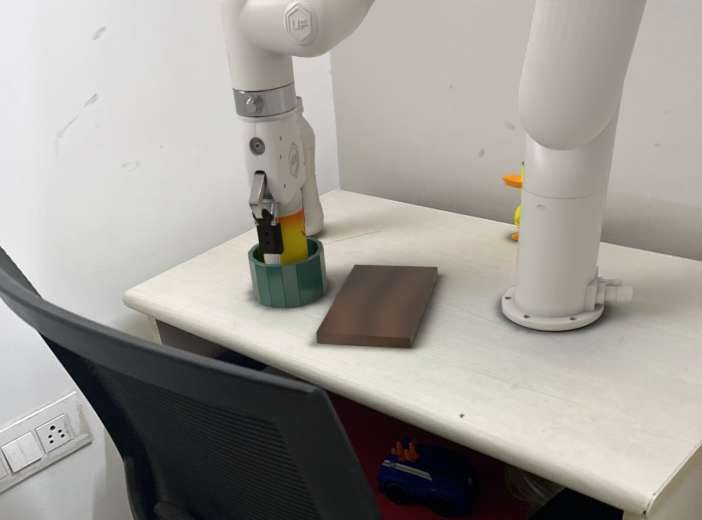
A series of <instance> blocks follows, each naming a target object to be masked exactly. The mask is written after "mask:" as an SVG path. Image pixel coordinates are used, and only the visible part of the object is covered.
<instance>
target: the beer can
mask: <svg viewBox="0 0 702 520" xmlns="http://www.w3.org/2000/svg"><path fill="white" fill-rule="evenodd" d="M263 199H274V198H273V196H264V197H263ZM264 209H267V210H268V211H269V212H270V214H271V209H272V206H264ZM277 223H281V230H282V237H283V245H284V252H283V254H264V260H265V263H266V264H280V265H282V264H289V263H295V262H298V261H301V260H305V259H307V258H309V257H308V248H307V240H306V231H305V222H304V213H303V204H302V195H301V188H300V187H297V189H296V192H295V195H294V196H293V198H292V199H291V200H290V201H289V202H288V203H287V204H282V203H281V202H279V211H278V222H277Z"/></svg>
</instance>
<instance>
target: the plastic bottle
mask: <svg viewBox="0 0 702 520" xmlns="http://www.w3.org/2000/svg"><path fill="white" fill-rule="evenodd" d="M296 100H297V109H298V110H297V112H296V114H297V119H298V123H299V128H300V134H301V140H302V147H303V154H304V161H305V168H306V180H305V182H304V184H303V185H302V194H301V195H302V200H303V209H304V218H305V231H306V236H309V237H312V236H314V235H317V234H318V233H320V232H321V231H322V229H323V227H324V223H325V214H324V210H323V206H322V203H321V199H320V195H319V189H318V184H317V175H316V134H315V132H314V129H313V127H312V126H311V124H310V123H309V122H308V120H307V119H306V118H305V117H304V115H303V113H304V112H305V109H304V104H303V97H302V96H300V95H296Z"/></svg>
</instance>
